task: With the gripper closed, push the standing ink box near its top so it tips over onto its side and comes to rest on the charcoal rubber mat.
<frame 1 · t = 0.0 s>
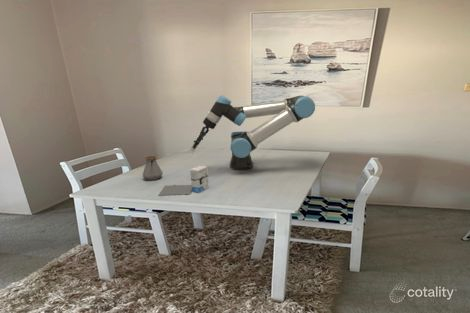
hand: (192, 149, 179), 15 cm above the table, tool tilted 35°, fingers open, 13 cm apart
ink box: (200, 189, 157), on the table
coffee pot: (153, 181, 174), on the table
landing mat: (177, 190, 157), on the table
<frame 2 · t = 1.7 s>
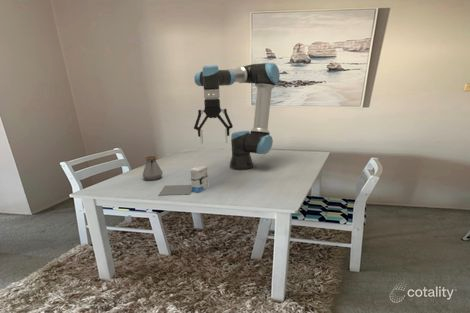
hand: (214, 142, 151), 24 cm above the table, tool pointing down, fingers open, 12 cm apart
nothing on the table moved.
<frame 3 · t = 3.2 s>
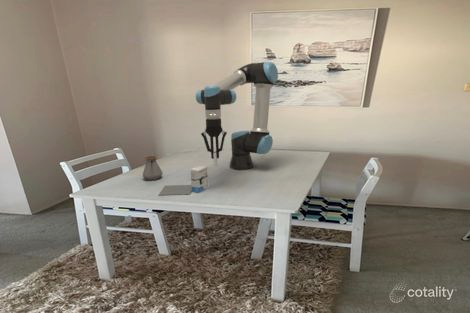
hand: (215, 164, 153), 13 cm above the table, tool pointing down, fingers closed
nothing on the table moved.
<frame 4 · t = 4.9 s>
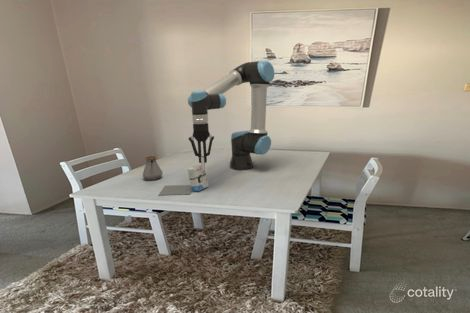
hand: (203, 168, 154), 11 cm above the table, tool pointing down, fingers closed
ink box: (200, 189, 157), on the table, touching gripper
everything else where it was.
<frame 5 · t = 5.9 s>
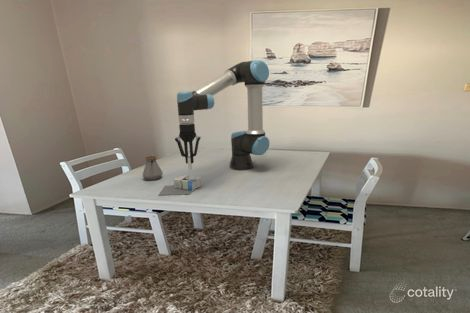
hand: (190, 169, 154), 11 cm above the table, tool pointing down, fingers closed
ink box: (197, 183, 157), point 3 cm above the table, touching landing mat
everything else where it was.
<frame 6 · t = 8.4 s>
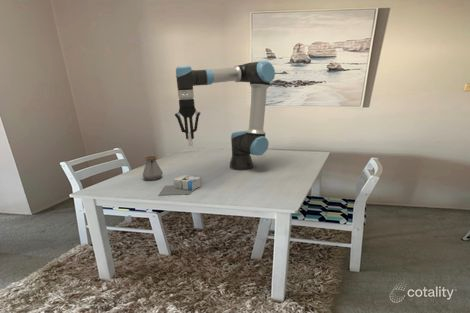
hand: (190, 145, 155), 23 cm above the table, tool pointing down, fingers closed
nothing on the table moved.
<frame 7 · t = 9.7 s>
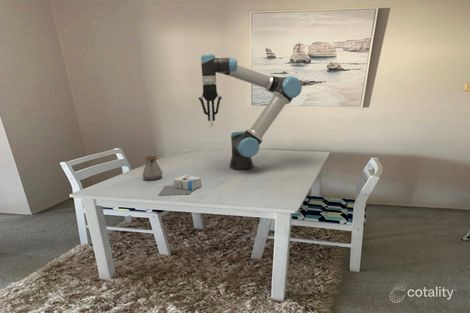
hand: (211, 126, 171), 29 cm above the table, tool pointing down, fingers closed
nothing on the table moved.
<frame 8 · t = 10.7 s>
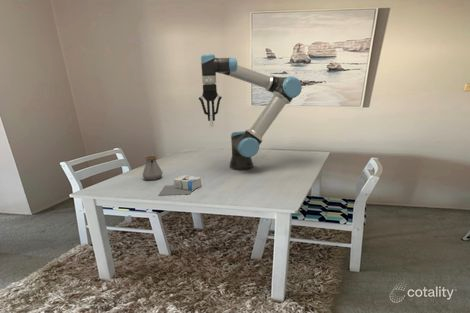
hand: (211, 126, 171), 29 cm above the table, tool pointing down, fingers closed
nothing on the table moved.
at the end: ink box tilted 90°; ink box inside the target area on the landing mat (5.6 cm from its centre), point 2.8 cm above the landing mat's base; ink box touching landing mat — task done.
